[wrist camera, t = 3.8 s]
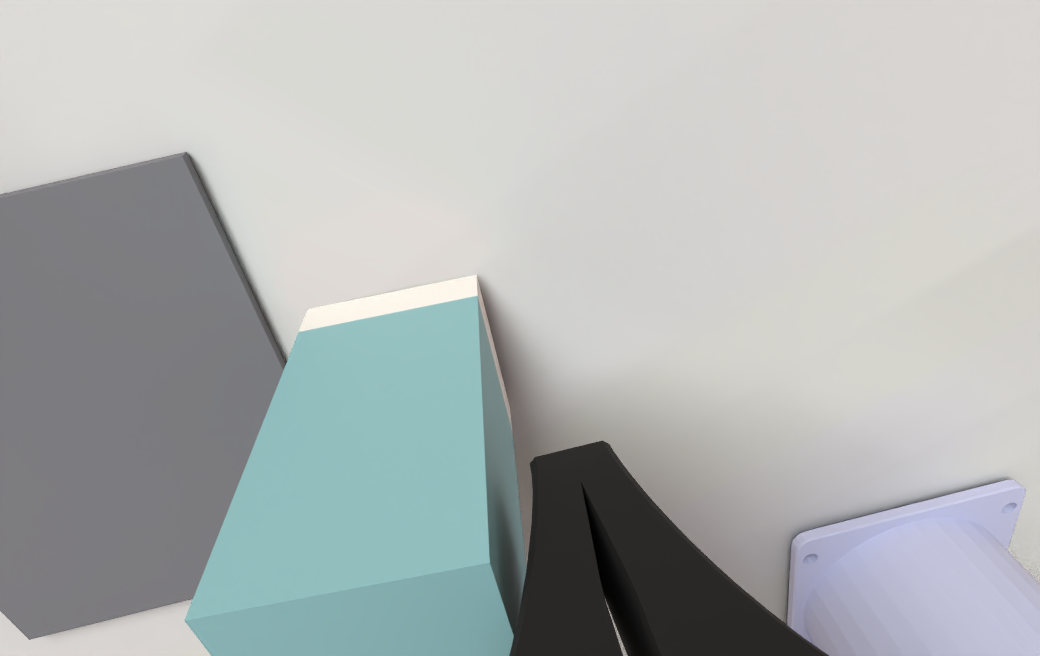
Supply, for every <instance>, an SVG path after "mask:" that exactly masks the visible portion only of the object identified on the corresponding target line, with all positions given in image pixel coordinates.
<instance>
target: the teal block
mask: <svg viewBox="0 0 1040 656" xmlns="http://www.w3.org/2000/svg"><path fill="white" fill-rule="evenodd" d="M526 570H527V569H526V559H525V550H524V540H523V530H522V520H521V511H520V501H519V491H518V481H517V472H516V462H515V452H514V442H513V433H512V423H511V413H510V406H509V402H508V398H507V394H506V390H505V386H504V382H503V378H502V374H501V370H500V366H499V362H498V358H497V354H496V350H495V346H494V342H493V338H492V334H491V330H490V326H489V323H488V319H487V315H486V311H485V307H484V303H483V299H482V295H481V291H480V287H479V283H478V279H477V275H473V276H468V277H463V278H458V279H453V280H448V281H443V282H439V283H434V284H429V285H424V286H419V287H414V288H409V289H404V290H399V291H394V292H390V293H385V294H380V295H375V296H370V297H365V298H360V299H355V300H350V301H346V302H341V303H336V304H331V305H326V306H321V307H316V308H311V309H308V310H307V313H306V315H305V318H304V320H303V323H302V325H301V328H300V330H299V333H298V335H297V338H296V340H295V343H294V345H293V348H292V350H291V353H290V356H289V358H288V361H287V363H286V366H285V368H284V371H283V373H282V376H281V378H280V381H279V383H278V386H277V388H276V391H275V393H274V396H273V398H272V401H271V403H270V406H269V409H268V411H267V414H266V416H265V419H264V421H263V424H262V426H261V429H260V431H259V434H258V436H257V439H256V441H255V444H254V446H253V449H252V451H251V454H250V456H249V459H248V462H247V464H246V467H245V469H244V472H243V474H242V477H241V479H240V482H239V484H238V487H237V489H236V492H235V494H234V497H233V499H232V502H231V504H230V507H229V510H228V512H227V515H226V517H225V520H224V522H223V525H222V527H221V530H220V532H219V535H218V537H217V540H216V542H215V545H214V547H213V550H212V552H211V555H210V557H209V560H208V563H207V565H206V568H205V570H204V573H203V575H202V578H201V580H200V583H199V585H198V588H197V590H196V593H195V595H194V598H193V600H192V603H191V605H190V608H189V610H188V613H187V616H186V618H185V622H186V623H187V624H188V626H189V627H190V628H191V630H192V631H193V632H194V634H195V635H196V636H197V637H198V639H199V640H200V641H201V643H202V644H203V645H204V647H205V648H206V649H207V651H208V652H209V653H210V654H211V656H509V654H510V651H511V647H512V642H513V638H514V634H515V629H516V625H517V620H518V615H519V610H520V604H521V599H522V593H523V587H524V581H525V576H526Z"/></svg>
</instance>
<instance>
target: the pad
mask: <svg viewBox="0 0 1040 656" xmlns="http://www.w3.org/2000/svg"><path fill="white" fill-rule="evenodd" d="M285 366H286V364H285V362H284V360H283V357H282V355H281V353H280V351H279V349H278V347H277V345H276V342H275V340H274V338H273V336H272V334H271V332H270V330H269V327H268V325H267V323H266V321H265V319H264V317H263V314H262V312H261V310H260V308H259V306H258V304H257V302H256V299H255V297H254V295H253V293H252V291H251V289H250V287H249V284H248V282H247V280H246V278H245V276H244V274H243V272H242V269H241V267H240V265H239V263H238V261H237V259H236V257H235V254H234V252H233V250H232V248H231V246H230V244H229V242H228V239H227V237H226V235H225V233H224V231H223V229H222V227H221V224H220V222H219V220H218V218H217V216H216V214H215V212H214V209H213V207H212V205H211V203H210V201H209V199H208V197H207V194H206V192H205V190H204V188H203V186H202V184H201V182H200V179H199V177H198V175H197V173H196V171H195V169H194V167H193V164H192V162H191V160H190V158H189V156H188V154H187V152H184V153H180V154H175V155H171V156H167V157H162V158H158V159H154V160H149V161H145V162H140V163H136V164H132V165H127V166H123V167H119V168H114V169H110V170H106V171H101V172H97V173H93V174H88V175H84V176H80V177H75V178H71V179H66V180H62V181H58V182H53V183H49V184H45V185H40V186H36V187H32V188H27V189H23V190H19V191H14V192H10V193H5V194H1V195H0V611H1V612H2V613H3V614H4V615H5V616H6V617H7V618H8V619H9V620H10V621H11V622H12V623H13V624H14V625H15V626H16V627H17V628H18V629H19V630H20V631H21V632H22V633H23V634H24V635H25V636H26V637H27V638H28V639H29V640H30V639H34V638H38V637H42V636H46V635H50V634H54V633H58V632H62V631H66V630H70V629H74V628H78V627H82V626H86V625H90V624H94V623H98V622H102V621H106V620H110V619H114V618H118V617H122V616H126V615H130V614H134V613H138V612H142V611H146V610H150V609H154V608H158V607H162V606H166V605H170V604H174V603H178V602H182V601H186V600H190V599H193V598H194V595H195V593H196V590H197V588H198V585H199V583H200V580H201V578H202V575H203V573H204V570H205V568H206V565H207V563H208V560H209V557H210V555H211V552H212V550H213V547H214V545H215V542H216V540H217V537H218V535H219V532H220V530H221V527H222V525H223V522H224V520H225V517H226V515H227V512H228V510H229V507H230V504H231V502H232V499H233V497H234V494H235V492H236V489H237V487H238V484H239V482H240V479H241V477H242V474H243V472H244V469H245V467H246V464H247V462H248V459H249V456H250V454H251V451H252V449H253V446H254V444H255V441H256V439H257V436H258V434H259V431H260V429H261V426H262V424H263V421H264V419H265V416H266V414H267V411H268V409H269V406H270V403H271V401H272V398H273V396H274V393H275V391H276V388H277V386H278V383H279V381H280V378H281V376H282V373H283V371H284V368H285Z"/></svg>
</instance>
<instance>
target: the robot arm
mask: <svg viewBox="0 0 1040 656" xmlns="http://www.w3.org/2000/svg"><path fill="white" fill-rule="evenodd" d="M530 467H531V473H532V485H533V507H532V526H531V535H530V545H529V554H528V563H527V570H526V576H525V581H524V587H523V593H522V599H521V604H520V610H519V615H518V620H517V625H516V629H515V634H514V638H513V642H512V647H511V651H510V654H509V656H623V654H622V651H621V648H620V645H619V642H618V638H617V635H616V632H615V629H614V626H613V623H612V620H611V617H610V614H609V611H608V608H607V604H608V606H609V609H610V612H611V614H612V617H613V619H614V622H615V624H616V627H617V630H618V632H619V635H620V637H621V640H622V642H623V645H624V647H625V650H626V652H627V655H628V656H1040V583H1039V582H1038V581H1037V580H1036V579H1035V578H1034V577H1033V576H1032V575H1031V574H1030V573H1029V572H1028V571H1027V570H1026V569H1025V568H1024V567H1023V566H1022V565H1021V564H1020V563H1019V562H1018V561H1017V560H1016V559H1015V557H1014V556H1013V555H1012V554H1011V553H1010V552H1009V551H1008V546H1009V543H1010V540H1011V537H1012V534H1013V531H1014V528H1015V525H1016V522H1017V519H1018V515H1019V512H1020V509H1021V506H1022V503H1023V500H1024V497H1025V491H1026V490H1025V488H1024V487H1023V486H1022V485H1021V484H1020V483H1018V482H1017V481H1016V480H1004V481H1000V482H996V483H993V484H989V485H985V486H981V487H977V488H973V489H969V490H965V491H961V492H957V493H953V494H949V495H945V496H941V497H938V498H934V499H930V500H926V501H922V502H918V503H914V504H910V505H906V506H902V507H898V508H894V509H890V510H886V511H883V512H879V513H875V514H871V515H867V516H863V517H859V518H855V519H851V520H847V521H843V522H839V523H835V524H831V525H828V526H824V527H820V528H816V529H812V530H808V531H804V532H802V533H800V534H798V535H797V536H796V537H795V538H794V539H793V541H792V544H791V561H790V580H789V598H788V617H787V625H786V624H785V623H784V622H783V621H781V620H780V619H779V618H778V617H776V616H775V615H774V614H772V613H771V612H770V611H769V610H767V609H766V608H765V607H764V606H762V605H761V604H760V603H759V602H758V601H756V600H755V599H754V598H753V597H752V596H750V595H749V594H748V593H747V592H746V591H744V590H743V589H742V588H741V587H740V586H739V585H737V584H736V583H735V582H734V581H733V580H732V579H731V578H729V577H728V576H727V575H726V574H725V573H724V572H723V571H722V570H721V569H719V568H718V567H717V566H716V565H715V564H714V563H713V562H712V561H711V560H710V559H709V558H708V557H707V556H706V555H705V554H704V553H703V552H701V551H700V550H699V549H698V548H697V547H696V546H695V545H694V544H693V543H692V542H691V541H690V540H689V539H688V538H687V537H686V536H685V535H684V534H683V533H682V532H681V531H680V530H679V529H678V528H677V527H676V525H675V524H674V523H673V522H672V521H671V520H670V519H669V518H668V517H667V516H666V515H665V514H664V513H663V512H662V511H661V509H660V508H659V507H658V506H657V505H656V504H655V503H654V502H653V501H652V499H651V498H650V497H649V496H648V495H647V494H646V493H645V491H644V490H643V489H642V488H641V487H640V485H639V484H638V483H637V482H636V481H635V479H634V478H633V477H632V476H631V474H630V473H629V472H628V470H627V469H626V468H625V467H624V465H623V464H622V463H621V461H620V460H619V458H618V457H617V455H616V454H615V453H614V451H613V450H612V448H611V446H610V445H609V444H608V443H606V442H604V441H599V442H595V443H591V444H587V445H583V446H579V447H575V448H571V449H567V450H562V451H558V452H554V453H550V454H546V455H542V456H538V457H535V458H534V459H533V461H532V462H531V463H530ZM604 596H605V597H604ZM605 599H606V601H607V604H606V601H605Z"/></svg>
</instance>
